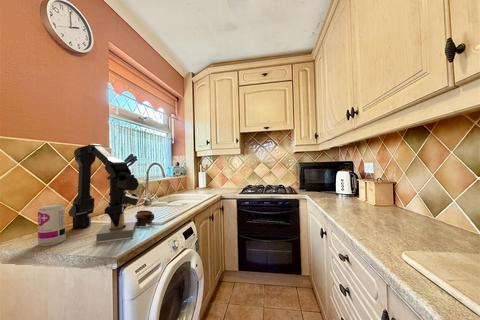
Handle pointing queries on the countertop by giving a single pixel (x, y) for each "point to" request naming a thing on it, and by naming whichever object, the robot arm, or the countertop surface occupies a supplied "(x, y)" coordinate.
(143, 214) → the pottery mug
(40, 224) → the supplement can
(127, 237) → the charcoal well block
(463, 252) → the countertop surface
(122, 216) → the wooden toy block
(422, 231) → the countertop surface
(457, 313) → the countertop surface
